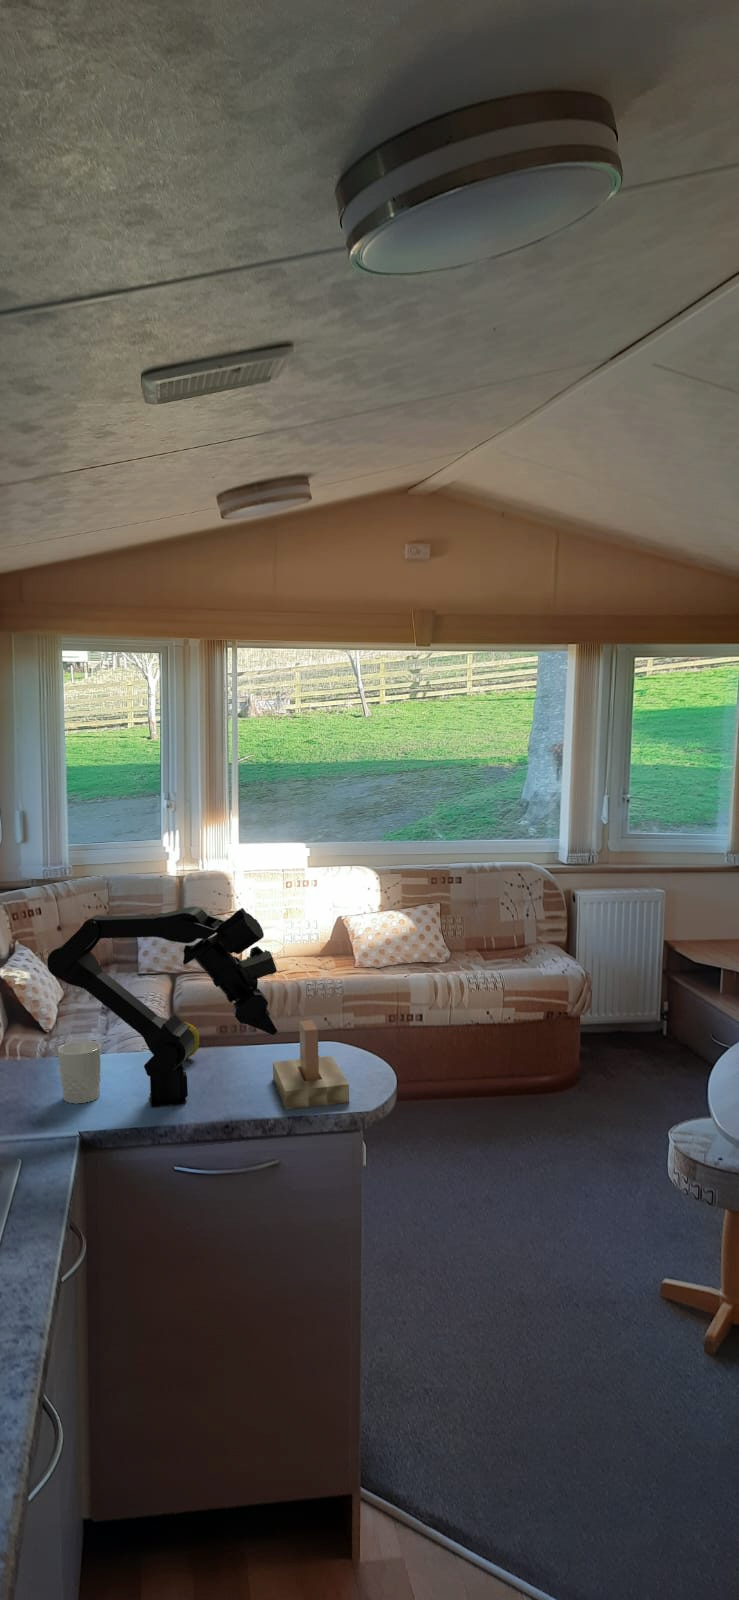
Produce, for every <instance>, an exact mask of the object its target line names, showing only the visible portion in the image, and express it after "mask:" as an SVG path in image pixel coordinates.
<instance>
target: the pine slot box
mask: <svg viewBox="0 0 739 1600" xmlns="http://www.w3.org/2000/svg"><path fill="white" fill-rule="evenodd" d="M318 1060H319V1080H310V1081H304V1079H303V1077H302V1075H301V1065H300V1059H298V1058H297V1059H291V1060H289V1059H288V1060H281V1061H280V1060H279V1061H273V1062H272V1075H273V1076H272V1080H273V1079H274V1080H273V1082H274V1085H275V1086H277V1087H276V1089H277V1092H278V1091H279V1092H278V1094H279V1097H280V1099H281V1102H282V1103H283V1106H284V1109H285V1110H294V1109H302V1108H312V1107H321V1106H328V1105H329V1106H330V1105H337V1104H347V1103H350V1084H349V1082H348V1081H347V1079H346V1078H345V1076H344V1074H343V1072H342V1070H341V1069H340V1068H339V1065H338V1064H337V1063H336V1061H335V1059H334V1058H333V1056H332V1055H331V1056H329V1055H328V1056H318Z"/></svg>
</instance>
